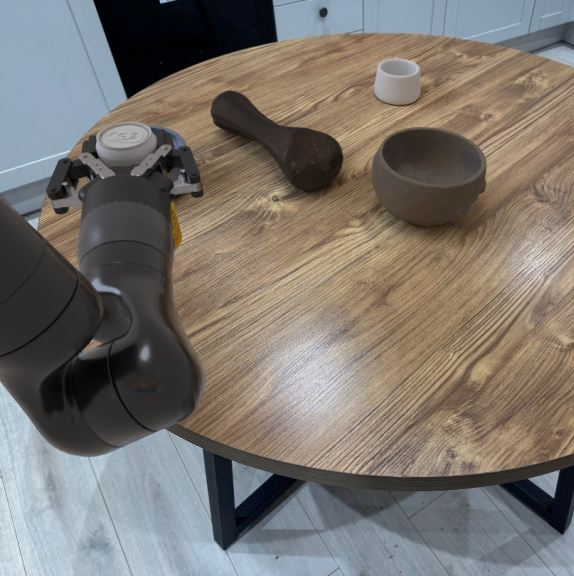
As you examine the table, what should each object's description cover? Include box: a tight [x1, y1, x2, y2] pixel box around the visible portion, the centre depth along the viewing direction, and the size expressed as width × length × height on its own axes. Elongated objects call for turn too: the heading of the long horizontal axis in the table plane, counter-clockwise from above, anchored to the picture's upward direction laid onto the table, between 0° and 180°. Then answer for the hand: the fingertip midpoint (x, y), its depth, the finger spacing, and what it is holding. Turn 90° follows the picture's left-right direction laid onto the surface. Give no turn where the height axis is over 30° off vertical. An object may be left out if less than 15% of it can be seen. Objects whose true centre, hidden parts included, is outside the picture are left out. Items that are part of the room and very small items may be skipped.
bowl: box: [370, 126, 488, 227], centre depth 89 cm, size 17×18×10 cm
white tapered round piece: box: [373, 58, 422, 106], centre depth 118 cm, size 12×10×6 cm
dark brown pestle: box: [209, 89, 344, 193], centre depth 98 cm, size 11×10×28 cm
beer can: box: [96, 121, 183, 253], centre depth 63 cm, size 6×6×15 cm
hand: (129, 139), depth 61 cm, fingers closed on beer can, 6 cm apart
